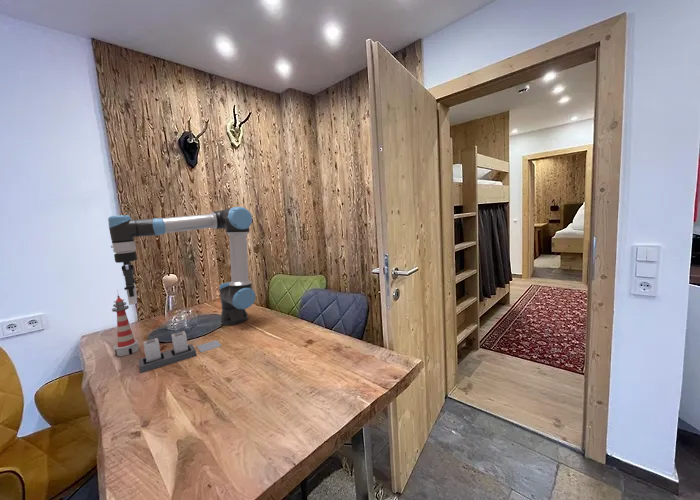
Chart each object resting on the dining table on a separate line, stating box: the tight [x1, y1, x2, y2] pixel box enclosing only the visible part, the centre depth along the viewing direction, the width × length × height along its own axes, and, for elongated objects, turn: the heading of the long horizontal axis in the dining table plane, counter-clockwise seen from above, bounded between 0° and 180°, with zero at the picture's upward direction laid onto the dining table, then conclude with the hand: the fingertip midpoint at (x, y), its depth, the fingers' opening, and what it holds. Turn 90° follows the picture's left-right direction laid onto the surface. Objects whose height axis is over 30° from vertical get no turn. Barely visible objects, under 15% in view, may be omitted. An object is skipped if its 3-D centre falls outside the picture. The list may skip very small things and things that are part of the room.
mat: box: [196, 339, 223, 353], centre depth 136 cm, size 9×9×1 cm
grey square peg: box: [171, 330, 189, 356], centre depth 126 cm, size 5×5×10 cm
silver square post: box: [143, 337, 162, 364], centre depth 120 cm, size 5×5×10 cm
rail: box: [138, 343, 197, 374], centre depth 124 cm, size 20×9×3 cm, turn 128°
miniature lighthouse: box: [111, 289, 139, 357], centre depth 134 cm, size 9×9×30 cm
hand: (133, 300), depth 126 cm, fingers open, 13 cm apart
